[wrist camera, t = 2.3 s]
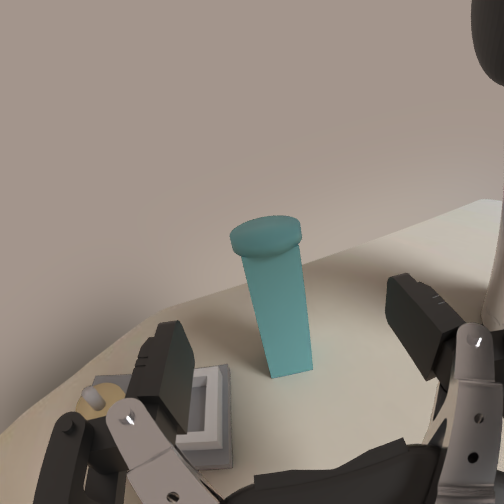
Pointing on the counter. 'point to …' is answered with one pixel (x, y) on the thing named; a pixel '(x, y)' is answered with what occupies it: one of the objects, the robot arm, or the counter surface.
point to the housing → (200, 414)
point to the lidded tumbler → (276, 290)
